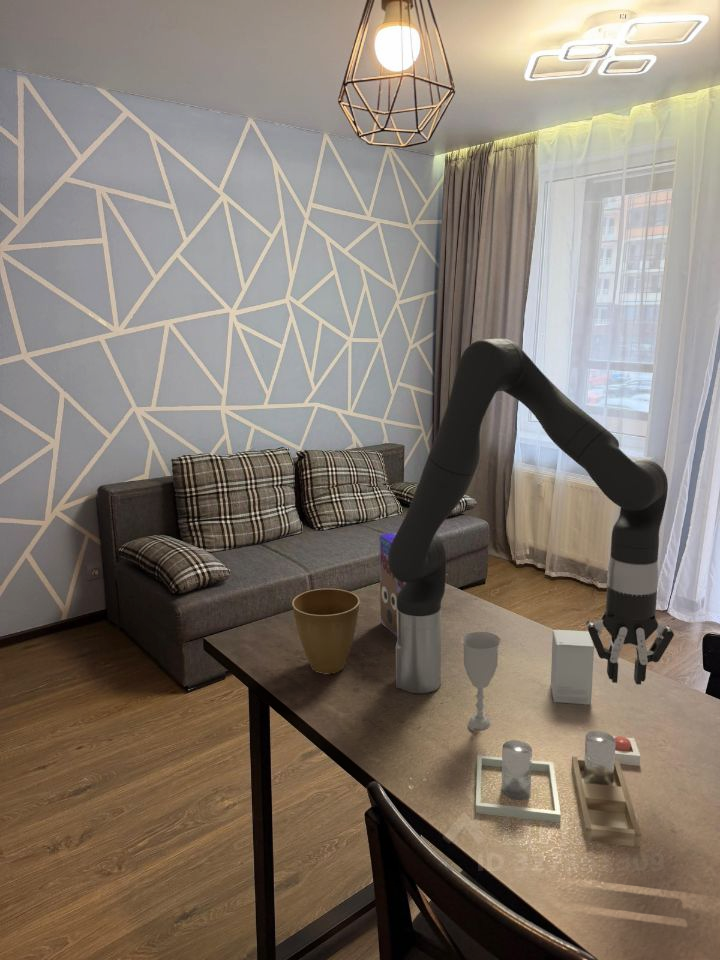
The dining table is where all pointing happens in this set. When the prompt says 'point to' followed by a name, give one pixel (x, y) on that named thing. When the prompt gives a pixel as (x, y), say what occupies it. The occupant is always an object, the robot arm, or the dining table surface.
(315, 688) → the dining table surface
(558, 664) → the supplement box
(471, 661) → the chalice
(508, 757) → the cylinder
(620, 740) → the button
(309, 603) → the plant pot
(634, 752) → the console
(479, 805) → the square tray frame
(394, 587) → the cereal box
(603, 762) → the cylinder
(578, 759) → the pocket board
